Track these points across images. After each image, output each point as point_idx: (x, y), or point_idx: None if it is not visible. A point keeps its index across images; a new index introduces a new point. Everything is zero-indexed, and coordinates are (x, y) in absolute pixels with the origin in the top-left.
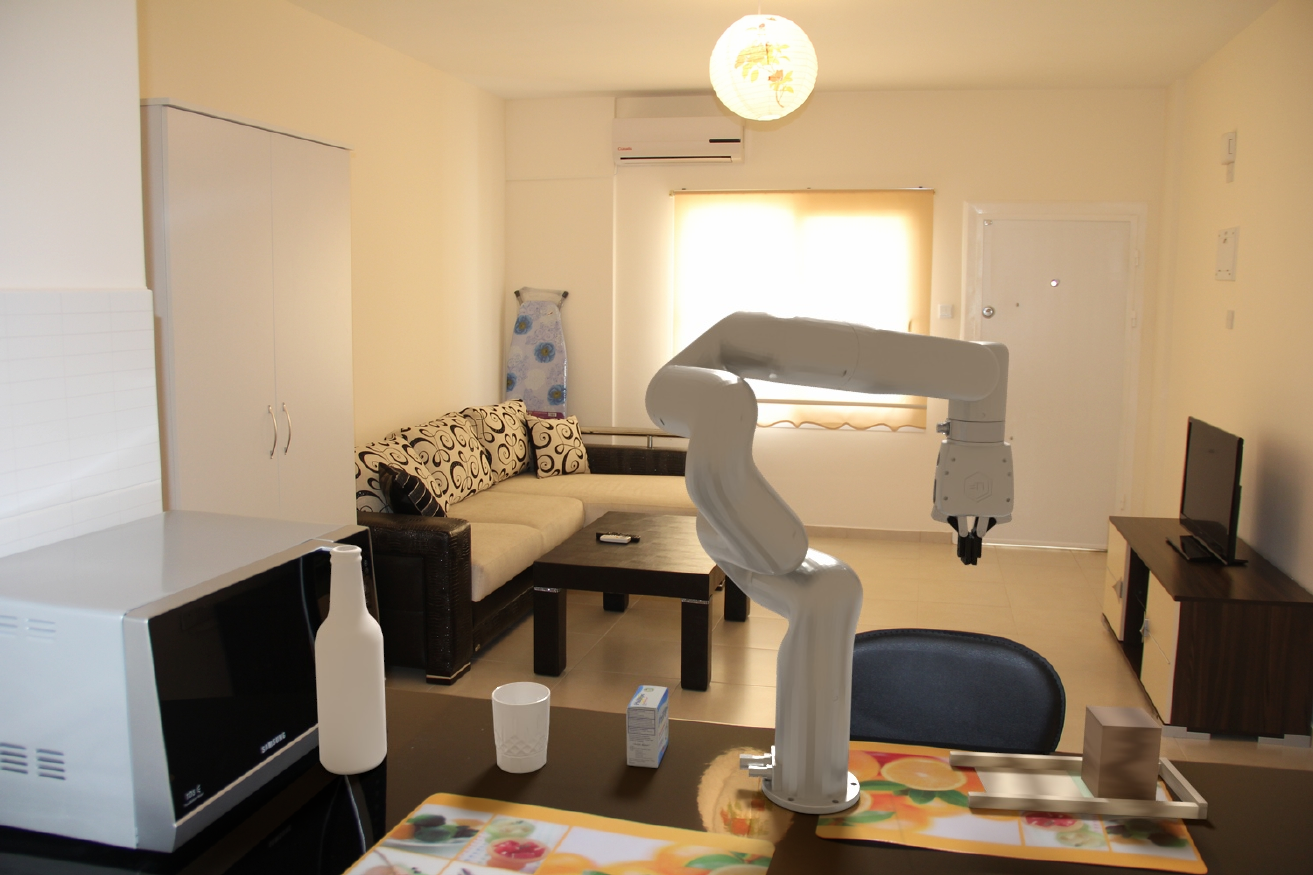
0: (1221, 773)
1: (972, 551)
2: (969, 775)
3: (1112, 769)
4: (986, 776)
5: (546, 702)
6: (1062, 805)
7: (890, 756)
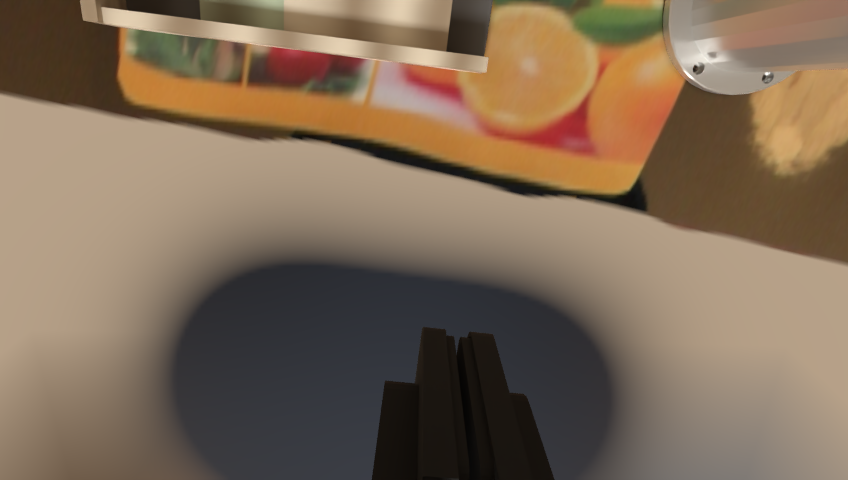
0: (8, 60)
1: (459, 387)
2: None
3: None
4: (437, 9)
5: None
6: None
7: (558, 134)
